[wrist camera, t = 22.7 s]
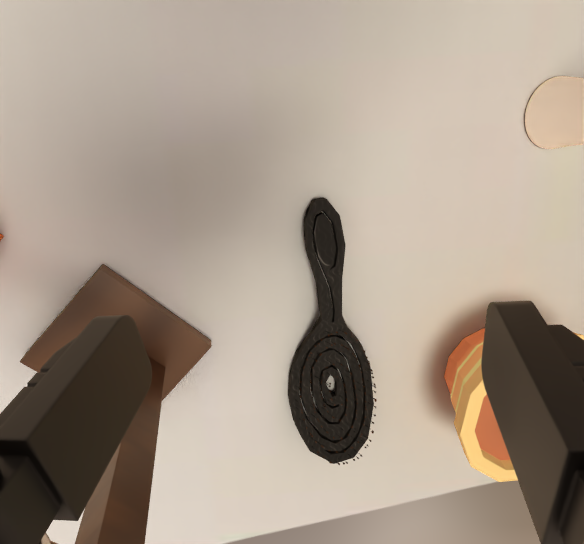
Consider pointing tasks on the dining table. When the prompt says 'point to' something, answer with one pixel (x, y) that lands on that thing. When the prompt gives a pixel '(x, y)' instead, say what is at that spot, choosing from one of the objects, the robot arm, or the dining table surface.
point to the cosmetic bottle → (556, 113)
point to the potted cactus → (477, 411)
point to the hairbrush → (330, 353)
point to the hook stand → (144, 427)
